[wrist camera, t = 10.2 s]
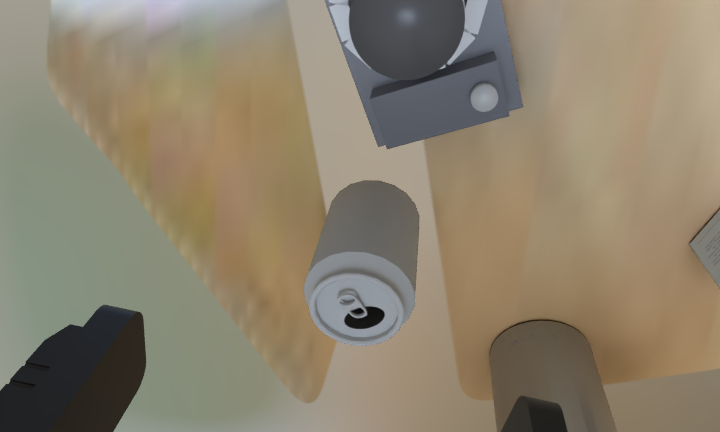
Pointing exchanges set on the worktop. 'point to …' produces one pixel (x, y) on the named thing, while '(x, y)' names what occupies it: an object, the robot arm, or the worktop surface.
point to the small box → (709, 247)
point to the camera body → (439, 81)
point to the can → (365, 265)
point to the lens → (406, 35)
